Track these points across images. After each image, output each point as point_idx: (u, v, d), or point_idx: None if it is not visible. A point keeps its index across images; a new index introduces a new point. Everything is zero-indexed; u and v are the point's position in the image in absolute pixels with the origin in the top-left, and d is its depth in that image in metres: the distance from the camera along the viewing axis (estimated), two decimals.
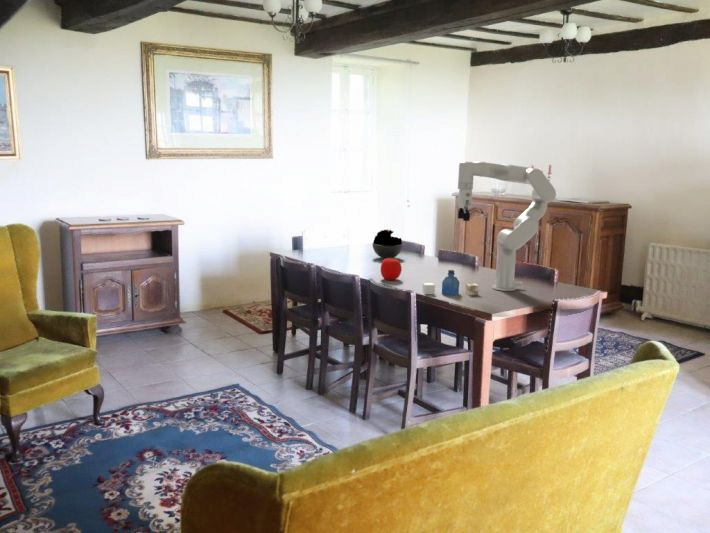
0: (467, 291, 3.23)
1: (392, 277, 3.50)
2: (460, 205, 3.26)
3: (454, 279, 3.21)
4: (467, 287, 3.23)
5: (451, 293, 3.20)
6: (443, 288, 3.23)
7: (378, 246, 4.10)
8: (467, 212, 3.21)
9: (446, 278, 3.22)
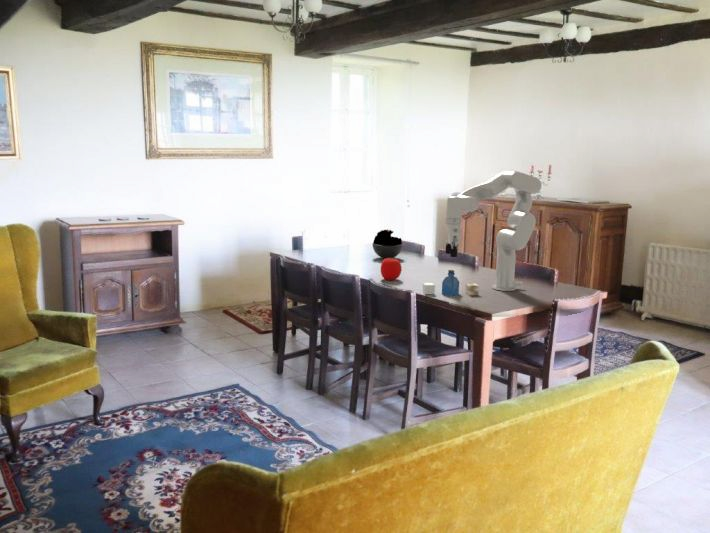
0: (467, 291, 3.23)
1: (392, 277, 3.50)
2: (448, 240, 3.18)
3: (454, 279, 3.21)
4: (467, 287, 3.23)
5: (451, 293, 3.20)
6: (443, 288, 3.23)
7: (378, 246, 4.10)
8: (454, 248, 3.13)
9: (446, 278, 3.22)
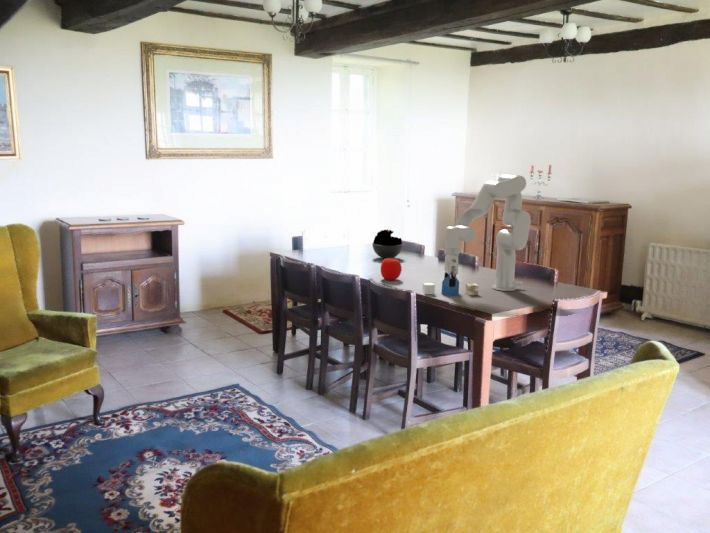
0: (467, 291, 3.23)
1: (392, 277, 3.50)
2: (446, 270, 3.21)
3: None
4: (467, 287, 3.23)
5: (451, 293, 3.20)
6: (442, 288, 3.23)
7: (378, 246, 4.10)
8: (453, 278, 3.16)
9: (446, 278, 3.22)
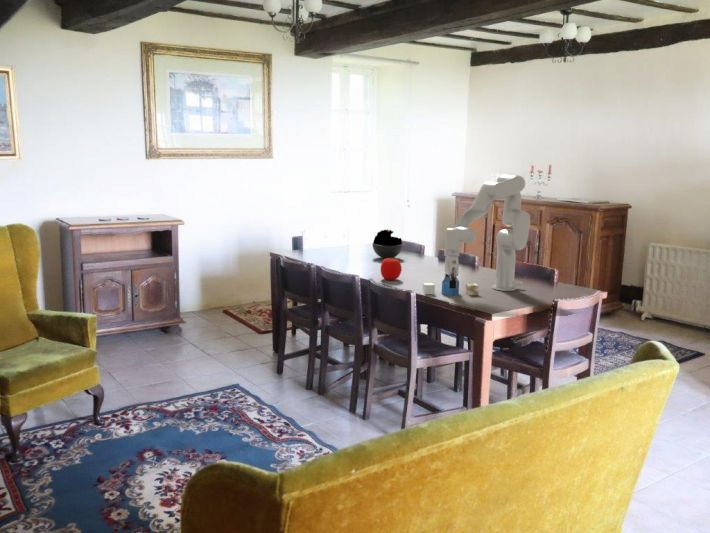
0: (467, 291, 3.23)
1: (392, 277, 3.50)
2: (446, 272, 3.21)
3: None
4: (467, 287, 3.23)
5: (451, 293, 3.20)
6: (442, 288, 3.23)
7: (378, 246, 4.10)
8: (453, 280, 3.17)
9: (446, 278, 3.22)
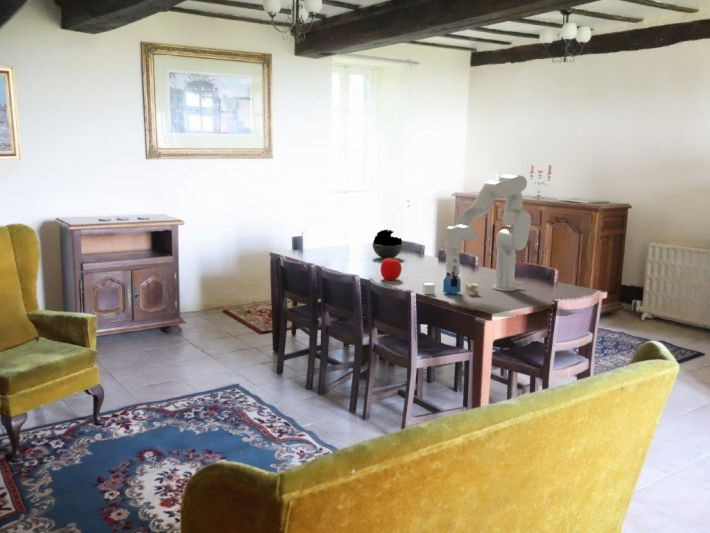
0: (467, 291, 3.23)
1: (392, 277, 3.50)
2: (448, 270, 3.21)
3: None
4: (467, 287, 3.23)
5: (452, 291, 3.20)
6: (444, 287, 3.23)
7: (378, 246, 4.10)
8: (454, 278, 3.17)
9: (447, 276, 3.22)
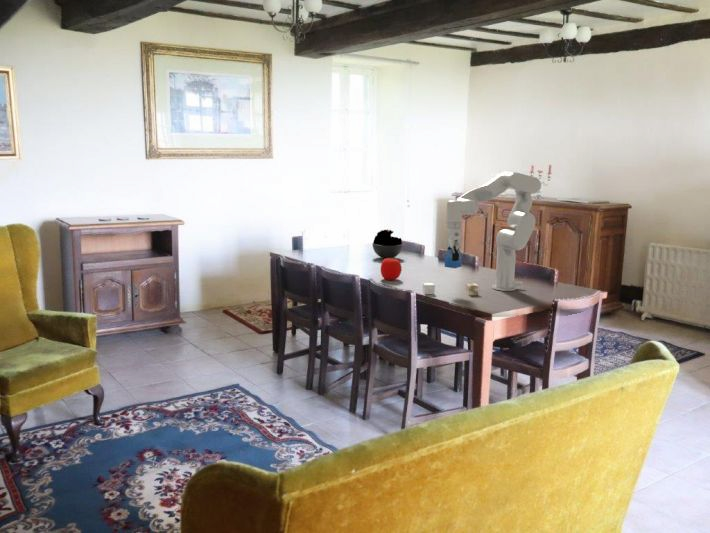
0: (467, 291, 3.23)
1: (392, 277, 3.50)
2: (449, 244, 3.19)
3: None
4: (467, 287, 3.23)
5: (454, 266, 3.18)
6: (445, 261, 3.21)
7: (378, 246, 4.10)
8: (456, 252, 3.15)
9: (448, 251, 3.20)
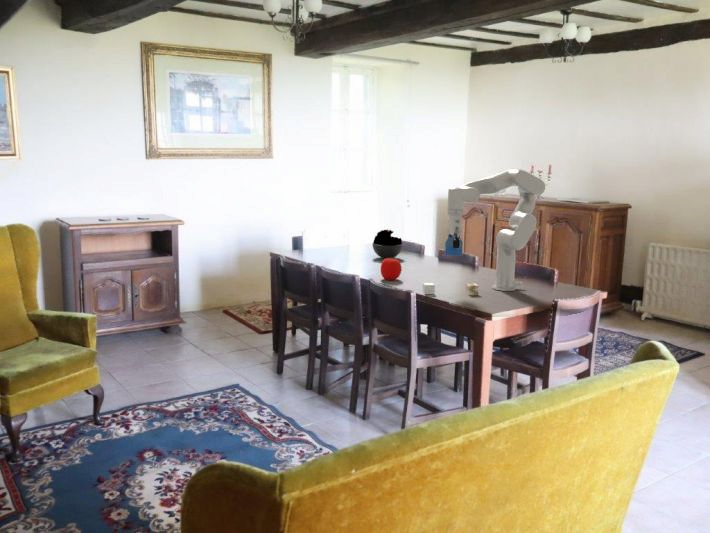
0: (467, 291, 3.23)
1: (392, 277, 3.50)
2: (450, 232, 3.20)
3: None
4: (467, 287, 3.23)
5: (454, 253, 3.18)
6: (446, 248, 3.21)
7: (378, 246, 4.10)
8: (457, 239, 3.15)
9: (449, 238, 3.20)
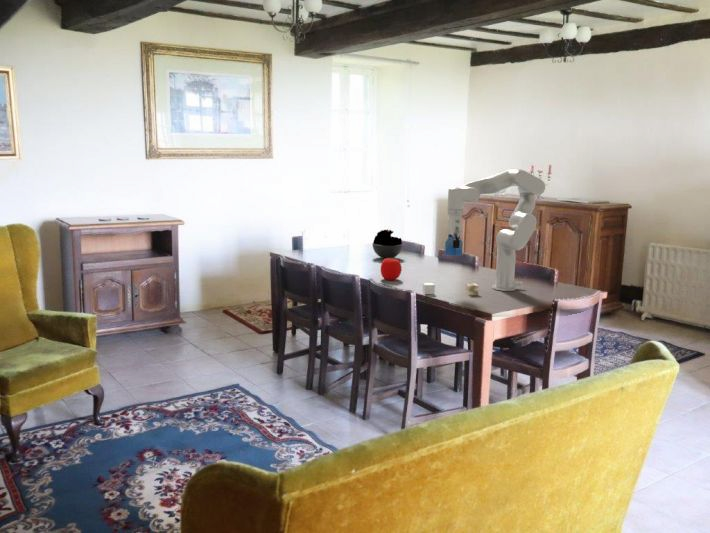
0: (467, 291, 3.23)
1: (392, 277, 3.50)
2: (450, 232, 3.20)
3: None
4: (467, 287, 3.23)
5: (454, 253, 3.18)
6: (446, 248, 3.21)
7: (378, 246, 4.10)
8: (457, 239, 3.15)
9: (449, 238, 3.20)
